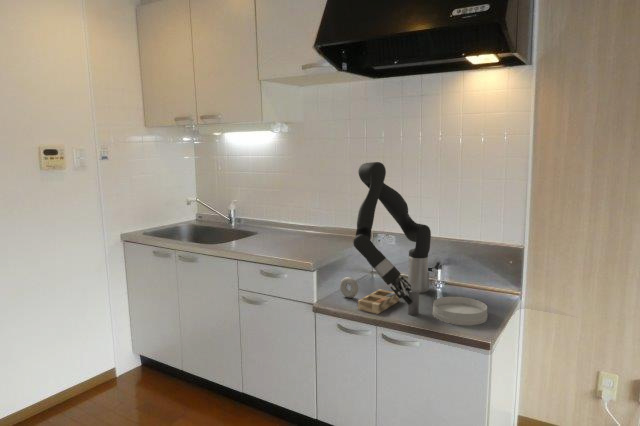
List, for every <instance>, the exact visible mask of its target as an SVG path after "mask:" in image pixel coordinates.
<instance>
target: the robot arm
mask: <svg viewBox="0 0 640 426" xmlns="http://www.w3.org/2000/svg"><path fill="white" fill-rule="evenodd" d="M357 173H358V177H359V179H360V181H361V182H362V183H363V184H364V185H365V186H366V187H367V188H368V192H367V194H366V195H365V198H364V199H363V201H362V202H361V205H360V207H359V209H358V215H357V218H356V219H357V220H356V233H355V237H354V238H353V242H352V243H353V246H354V248H355V249H356V250H357V251H358V252H359V253H360V255H362V256H363V257H364V258H365V259H366V260H367V263H368V264H369V265H370V266H371V267H372V268H373V269H374V271H375V272H376V274H377V275H378V276H379V277H380V279H382V280H383V282H384V283H385V284H386V285H387V286H389V285H390V284H391V286H390V289H391V290H392V292H394V293H395V294H396V295H397V296H398V297H399V299H403V300H404V302H405V303H406V304H407V306H408V305H410V304H411V303H412V300H411V299H410V298H409V297H408V296H409V290H412V289H414V290H418V291H419V294H422V293H426V292H428V291H430V271H428V268H429V264H428V263H429V253H430V250H431V239H432V237H431V236H432V230H431V229H430V227H429V226H428V225H426V224H423V223H417V222H416V221H414V219H412V217H411V215H409V207H408V204H407V202H406V200H405V198H404V197H403V196H402V195H401V194H400V193H399V192H398V191H397V190H396V189H394V188H392V187H391V186H389V185H387V184H386V183H384V182H385V178H386V174H387V171H386V167H385V165H384V163H382V162H379V161H375V162H373V161H372V162H365V163H362V164H361V165H359V168H358V171H357ZM378 200H379V201H380V203H381V204H382V206H384V208H385V209H386V211H387V212H388V213H389V214H390V215H391V216H392V218H393V219H394V221H395V222H396V223H397V224H398V226H399V227H400V229H401V230H402V232H403V234H404V235H405V237H406V239H407V240H408V241H411V242H412V243H415V247H414V248H411V249H409V250H408V276H407V277H408V278H407V279H406V278H405V277H404V276H401V272H400V271H399V270H398V268H396V266H395V265H394V264H393V263H392V262H391V261H390V260H389V259H388V258H387V257H386V256H385V255H384V254H383V252H381V251H380V250H379V249H378V248H377V247H376V246H375V244H374V243H373V242H372V240H371V238H372V229H373V225H374V219H375V213H376V208H377V204H378ZM400 276H401V277H400ZM407 280H408V281H407Z"/></svg>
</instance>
